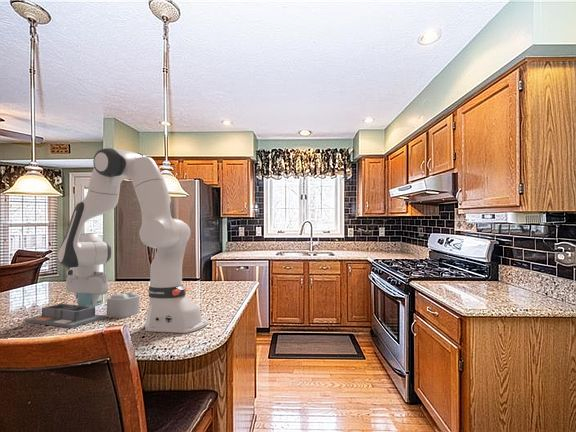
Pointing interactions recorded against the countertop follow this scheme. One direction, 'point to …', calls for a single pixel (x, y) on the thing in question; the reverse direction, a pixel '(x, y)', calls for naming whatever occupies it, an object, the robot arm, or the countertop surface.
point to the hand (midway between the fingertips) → (86, 304)
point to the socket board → (66, 316)
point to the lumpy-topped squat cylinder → (123, 304)
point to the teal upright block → (85, 299)
